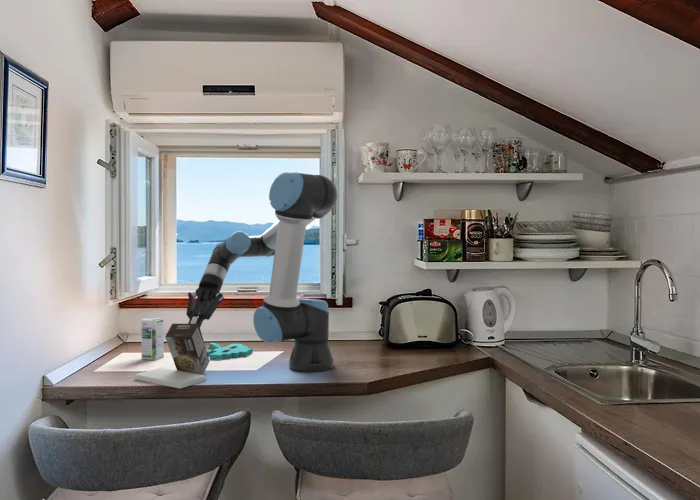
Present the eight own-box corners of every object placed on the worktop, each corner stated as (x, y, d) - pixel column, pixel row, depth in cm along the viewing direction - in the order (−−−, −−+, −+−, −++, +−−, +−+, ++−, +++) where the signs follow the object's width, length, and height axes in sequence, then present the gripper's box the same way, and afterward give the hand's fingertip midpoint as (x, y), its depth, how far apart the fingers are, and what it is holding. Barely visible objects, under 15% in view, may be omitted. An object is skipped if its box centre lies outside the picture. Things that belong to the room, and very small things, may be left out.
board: (205, 380, 166) (205, 375, 166) (180, 388, 157) (179, 383, 157) (161, 372, 176) (161, 367, 176) (135, 379, 167) (135, 374, 167)
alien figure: (186, 359, 196) (238, 362, 192) (186, 353, 196) (238, 355, 192) (211, 348, 215) (259, 350, 211) (211, 342, 215) (259, 344, 211)
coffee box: (210, 360, 178) (199, 323, 169) (203, 374, 173) (192, 337, 164) (184, 359, 179) (172, 322, 171) (176, 373, 174) (164, 336, 165)
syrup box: (140, 359, 194) (140, 319, 194) (151, 356, 200) (150, 317, 199) (154, 360, 192) (154, 320, 192) (164, 356, 198) (164, 317, 198)
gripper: (233, 286, 192) (212, 342, 176) (199, 286, 195) (175, 341, 179) (227, 273, 187) (205, 329, 171) (191, 272, 189) (167, 327, 174)
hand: (190, 335), depth 175 cm, fingers closed
